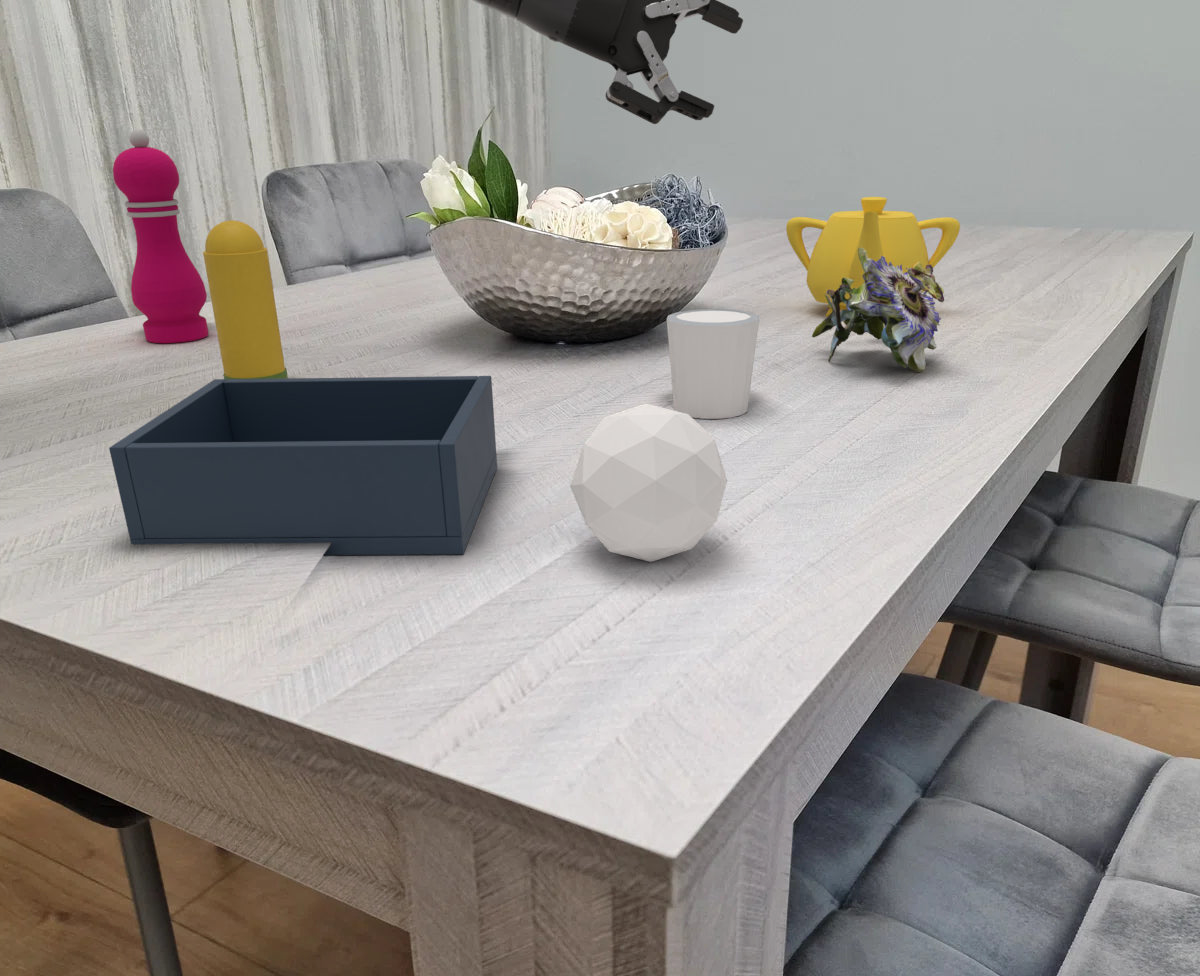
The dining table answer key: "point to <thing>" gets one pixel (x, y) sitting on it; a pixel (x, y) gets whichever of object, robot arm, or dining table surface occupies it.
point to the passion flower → (888, 309)
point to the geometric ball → (649, 482)
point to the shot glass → (712, 361)
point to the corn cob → (243, 302)
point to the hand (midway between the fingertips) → (725, 69)
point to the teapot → (865, 244)
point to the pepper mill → (159, 246)
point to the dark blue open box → (314, 464)
